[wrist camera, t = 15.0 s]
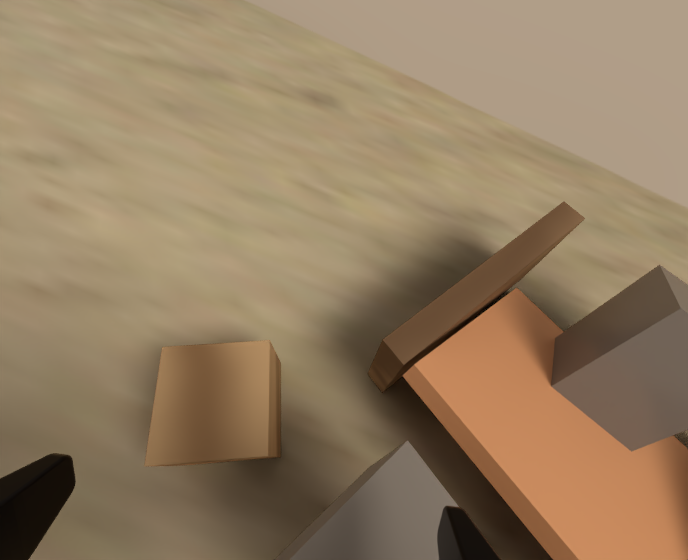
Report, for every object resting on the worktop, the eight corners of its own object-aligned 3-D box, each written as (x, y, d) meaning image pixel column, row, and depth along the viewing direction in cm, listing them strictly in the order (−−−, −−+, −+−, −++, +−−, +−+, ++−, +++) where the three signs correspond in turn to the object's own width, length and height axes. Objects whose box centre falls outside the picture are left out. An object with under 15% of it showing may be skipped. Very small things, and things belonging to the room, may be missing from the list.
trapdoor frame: (727, 467, 22) (902, 469, 15) (592, 662, 18) (751, 783, 11) (507, 263, 28) (563, 201, 21) (367, 374, 24) (382, 339, 17)
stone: (621, 390, 23) (746, 326, 18) (631, 451, 19) (791, 388, 15) (554, 338, 23) (659, 264, 19) (550, 386, 20) (680, 308, 15)
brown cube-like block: (280, 362, 24) (269, 340, 19) (280, 457, 21) (267, 455, 17) (194, 368, 23) (162, 346, 19) (183, 465, 21) (144, 466, 16)
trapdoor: (650, 475, 23) (699, 459, 21) (573, 1223, 7) (753, 1434, 5) (488, 312, 28) (516, 287, 26) (214, 523, 12) (237, 497, 10)
